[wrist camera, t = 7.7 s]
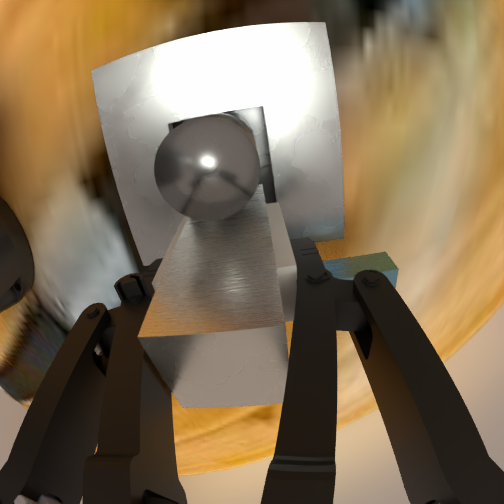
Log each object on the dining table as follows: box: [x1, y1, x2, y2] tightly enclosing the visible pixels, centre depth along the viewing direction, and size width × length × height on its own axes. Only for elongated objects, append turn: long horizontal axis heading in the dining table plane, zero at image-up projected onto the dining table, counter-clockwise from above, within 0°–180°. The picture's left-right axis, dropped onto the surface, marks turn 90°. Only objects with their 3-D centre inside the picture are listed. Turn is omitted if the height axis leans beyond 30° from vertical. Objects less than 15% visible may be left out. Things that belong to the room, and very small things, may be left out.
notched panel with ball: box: [91, 22, 399, 288], centre depth 15 cm, size 16×16×11 cm
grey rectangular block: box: [138, 184, 289, 408], centre depth 13 cm, size 4×4×12 cm
